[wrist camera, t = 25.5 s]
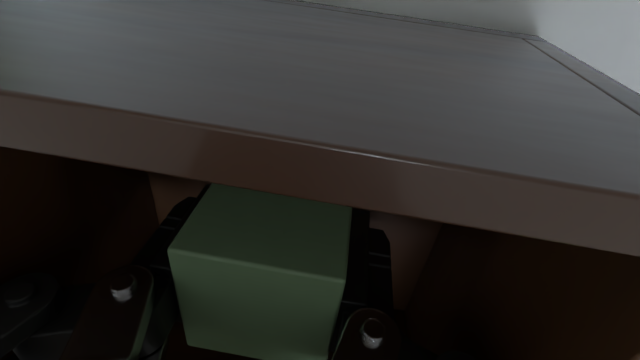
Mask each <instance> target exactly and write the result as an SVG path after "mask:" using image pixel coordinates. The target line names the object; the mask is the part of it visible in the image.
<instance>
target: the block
mask: <svg viewBox="0 0 640 360" xmlns="http://www.w3.org/2000/svg"><path fill="white" fill-rule="evenodd" d="M351 218H352V207H348V206H342V205H336V204H330V203H325V202H319V201H313V200H307V199H301V198H296V197H290V196H284V195H278V194H272V193H267V192H261V191H255V190H249V189H243V188H238V187H232V186H226V185H220V184H215V183H212V184H211V185H210V187H209V188H208V190H207V191H206V193H205V194H204V196H203V197H202V199H201V200H200V201H199V203H198V204H197V206H196V207H195V209H194V210H193V212H192V213H191V215H190V216H189V218H188V219H187V221H186V222H185V223H184V225H183V226H182V228H181V229H180V231H179V232H178V234H177V235H176V237H175V238H174V240H173V241H172V243H171V244H170V246H169V247H168V250H167V253H168V257H169V262H170V267H171V271H172V276H173V281H174V285H175V290H176V294H177V299H178V304H179V308H180V313H181V318H182V322H183V327H184V331H185V336H186V341H187V344H188V345H190V346H194V347H200V348H205V349H210V350H215V351H220V352H226V353H231V354H236V355H241V356H246V357H252V358H257V359H262V360H327V359H328V355H329V350H330V346H331V342H332V338H333V334H334V330H335V325H336V321H337V317H338V313H339V309H340V305H341V300H342V296H343V292H344V288H345V284H346V276H347V264H348V253H349V241H350V229H351Z"/></svg>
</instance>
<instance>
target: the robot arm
mask: <svg viewBox="0 0 640 360" xmlns="http://www.w3.org/2000/svg"><path fill="white" fill-rule="evenodd" d="M210 185H211V184H207V185H205V186H204V188H203V189H202V191H201V192H200V193H199V195H198V196H197V198H196V197H190V196H188V197H187V198H185V199H184V200H182V201H180V202H179V203H177V204H176V205H175V206H174V207H173V208H172V210H171V211H170V212H169V214H168V215H167V216H166V219H164V220H163V221H162V223H161V224H160V225H159V228H157V229H156V231H155V232H154V233H153V235H152V236H151V237H150V238H149V240H148V241H147V242H146V244H145V245H144V246H143V248H142V249H141V250H140V252H139V253H138V254H137V256H136V257H135V258H134V259H133V261H132V262H131V263H130V264H129V265H126V266H122V267H119V268H116V269H114V270H111V271H110V272H108V273H106V274H105V275H104V276H102V277H101V278H100V279H99V280H98V281H97V283H90V284H79V285H69V286H60V285H59V283H58V282H57V280H56V278H55V277H54V276H52V275H50V274H48V273H41V272H37V273H29V274H25V275H21V276H19V277H16V278H14V279H12V280H10V281H8V282H6V283H4V284H3V285H1V286H0V359H1V358H2V357H4V356H5V355H6V354H8V353H9V352H10V351H12V350H13V352H14V353H13V354H12V355H11V356H9V357H8V358H7V359H6V360H165V358H166V354H167V349H168V345H169V333H170V331H171V329H172V327H173V325H174V323H175V321H176V322H181V323H183V322H182V318H181V313H180V308H179V304H178V299H177V294H176V290H175V285H174V281H173V276H172V271H171V267H170V262H169V257H168V253H167V250H168V247H169V246H170V244H171V243H172V241H173V240H174V238H175V237H176V235H177V234H178V232H179V231H180V229H181V228H182V226H183V225H184V223H185V222H186V221H187V219H188V218H189V216H190V215H191V213H192V212H193V210H194V209H195V207H196V206H197V204H198V203H199V201H200V200H201V199H202V197H203V196H204V194H205V193H206V191H207V190H208V188H209V187H210ZM369 224H370V213H369V212H368V211H362V210H356V209H352V218H351V229H350V241H349V253H348V264H347V276H346V284H345V288H344V292H343V296H342V300H341V305H340V309H339V313H338V317H337V321H336V325H335V330H334V334H333V338H332V342H331V346H330V350H329V351H332V352H334V354H333V357H332V359H331V360H477V359H475V358H474V357H472V356H471V355H469V354H467V353H464V352H461V351H455V350H452V351H446V352H444V353H442V354H440V355H437V354H435V353H433V352H431V351H429V350H427V349H425V348H424V347H422V346H420V345H418V344H416V343H414V342H413V341H412V340H410V339H409V338H408V337H407V336H406V335H405V334H404V333H403V332H402V331H401V329H400V328H399V326H398V324H397V322H396V320H395V317H394V308H393V289H392V270H391V249H390V241H389V240H388V238H387V236H386V234H385V232H384V231H383V230H380V229H374V228H369Z"/></svg>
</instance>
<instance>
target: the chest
mask: <svg viewBox="0 0 640 360" xmlns="http://www.w3.org/2000/svg"><path fill="white" fill-rule="evenodd" d="M212 183H215V184H220V185H226V186H232V187H238V188H243V189H249V190H255V191H261V192H267V193H272V194H278V195H284V196H290V197H296V198H301V199H307V200H313V201H319V202H325V203H330V204H336V205H342V206H348V207H352V209H356V210H362V211H368V212H369V213H370V224H369V228H374V229H380V230H383V231H384V232H385V234H386V236H387V238H388V240H389V241H390V249H391V270H392V289H393V308H394V317H395V320H396V322H397V324H398V326H399V328H400V329H401V331H402V332H403V333H404V334H405V335H406V336H407V337H408V338H409V339H410V340H412V341H413V342H414V343H416V344H418V345H420V346H422V347H424V348H425V349H427V350H429V351H431V352H433V353H435V354H437V355H440V354H442V353H444V352H446V351H452V350H455V351H461V352H464V353H467V354H469V355H471V356H472V357H474V358H475V359H477V360H640V94H638V93H636V92H635V91H633V90H631V89H629V88H628V87H626V86H624V85H622V84H621V83H619V82H617V81H615V80H614V79H612V78H610V77H608V76H607V75H605V74H603V73H601V72H600V71H598V70H596V69H595V68H593V67H591V66H589V65H588V64H586V63H584V62H582V61H581V60H579V59H577V58H575V57H574V56H572V55H570V54H568V53H567V52H565V51H563V50H561V49H560V48H558V47H556V46H554V45H553V44H551V43H548V42H547V41H545V40H544V39H542V38H540V37H538V36H531V35H525V34H518V33H511V32H504V31H497V30H491V29H484V28H477V27H470V26H464V25H457V24H450V23H443V22H436V21H430V20H423V19H416V18H409V17H402V16H396V15H389V14H382V13H375V12H368V11H362V10H355V9H348V8H341V7H335V6H328V5H321V4H314V3H307V2H301V1H294V0H0V286H1V285H3V284H4V283H6V282H8V281H10V280H12V279H14V278H16V277H19V276H21V275H25V274H29V273H37V272H41V273H48V274H50V275H52V276H54V277H55V278H56V280H57V282H58V283H59V285H60V286H69V285H79V284H90V283H97V281H98V280H99V279H100V278H101V277H102V276H104V275H105V274H106V273H108V272H110V271H111V270H114V269H116V268H119V267H122V266H126V265H129V264H130V263H131V262H132V261H133V259H134V258H135V257H136V256H137V254H138V253H139V252H140V250H141V249H142V248H143V246H144V245H145V244H146V242H147V241H148V240H149V238H150V237H151V236H152V235H153V233H154V232H155V231H156V229H157V228H159V225H160V224H161V223H162V221H163V220H164V219H166V216H167V215H168V214H169V212H170V211H171V210H172V208H173V207H174V206H175V205H176V204H177V203H179V202H180V201H182V200H184V199H185V198H187V197H188V196H190V197H196V198H197V196H198V195H199V193H200V192H201V191H202V189H203V188H204V186H205V185H207V184H212ZM13 353H14V352H13V350H12V351H10V352H9V353H8V354H6V355H5V356H4V357H2V358H1V359H0V360H6V359H7V358H8V357H9V356H11V355H12V354H13ZM333 354H334V352H332V351H329V355H328V359H327V360H331V359H332V357H333ZM165 360H262V359H257V358H252V357H246V356H241V355H236V354H231V353H226V352H220V351H215V350H210V349H205V348H200V347H194V346H190V345H188V344H187V341H186V336H185V331H184V327H183V323H181V322H176V321H175V323H174V325H173V327H172V329H171V331H170V333H169V345H168V349H167V354H166V358H165Z"/></svg>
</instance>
